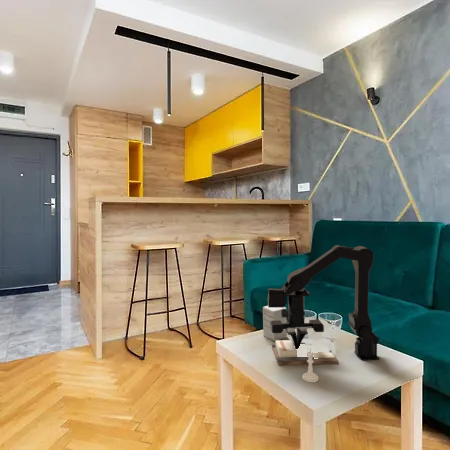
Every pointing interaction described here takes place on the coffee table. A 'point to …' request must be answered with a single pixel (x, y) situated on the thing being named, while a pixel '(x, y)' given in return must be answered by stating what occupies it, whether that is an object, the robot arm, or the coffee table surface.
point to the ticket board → (305, 358)
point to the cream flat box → (286, 348)
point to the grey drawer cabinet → (273, 315)
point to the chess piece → (310, 370)
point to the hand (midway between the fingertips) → (296, 348)
